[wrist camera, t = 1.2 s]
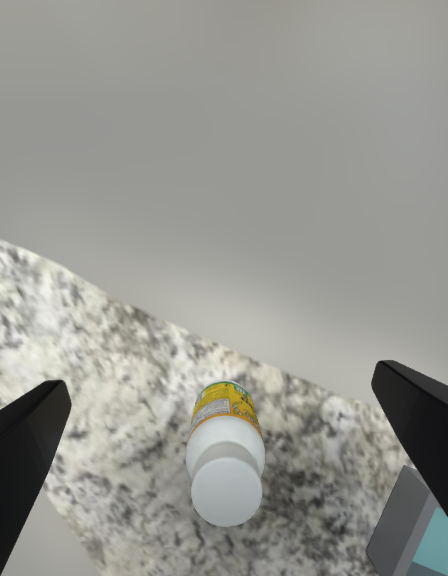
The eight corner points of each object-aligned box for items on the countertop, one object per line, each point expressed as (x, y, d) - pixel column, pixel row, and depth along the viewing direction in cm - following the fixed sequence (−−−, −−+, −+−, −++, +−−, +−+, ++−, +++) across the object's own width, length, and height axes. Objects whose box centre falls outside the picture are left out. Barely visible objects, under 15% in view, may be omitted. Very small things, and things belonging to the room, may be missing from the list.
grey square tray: (451, 585, 24) (484, 628, 21) (365, 550, 24) (386, 589, 21) (490, 500, 24) (528, 532, 21) (404, 464, 24) (430, 491, 21)
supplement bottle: (187, 388, 23) (164, 462, 14) (242, 370, 23) (257, 431, 14) (206, 442, 24) (195, 553, 14) (260, 424, 24) (287, 522, 14)
